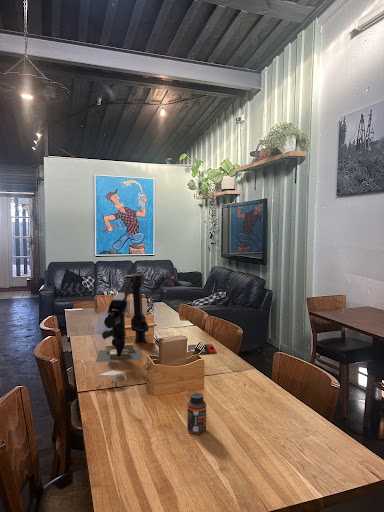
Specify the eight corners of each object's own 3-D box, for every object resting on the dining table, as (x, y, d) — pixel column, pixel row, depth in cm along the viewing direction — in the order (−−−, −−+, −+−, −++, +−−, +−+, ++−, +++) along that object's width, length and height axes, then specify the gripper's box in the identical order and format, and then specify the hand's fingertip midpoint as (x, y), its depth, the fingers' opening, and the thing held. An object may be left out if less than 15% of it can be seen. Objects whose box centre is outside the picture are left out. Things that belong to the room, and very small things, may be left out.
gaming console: (160, 354, 185) (158, 345, 195) (160, 362, 186) (158, 352, 196) (216, 349, 191) (212, 341, 200) (216, 357, 192) (212, 348, 201)
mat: (99, 351, 195) (99, 350, 195) (140, 349, 199) (140, 348, 199) (95, 362, 178) (95, 362, 178) (141, 360, 181) (141, 359, 181)
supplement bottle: (200, 437, 112) (200, 401, 112) (183, 431, 115) (183, 396, 115) (209, 428, 117) (209, 393, 117) (193, 423, 120) (193, 389, 120)
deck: (110, 354, 188) (110, 350, 188) (128, 353, 190) (128, 349, 190) (109, 358, 182) (109, 353, 182) (128, 357, 184) (128, 352, 184)
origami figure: (121, 378, 159) (121, 367, 158) (127, 385, 151) (127, 373, 151) (93, 383, 153) (93, 371, 153) (98, 391, 146) (97, 378, 145)
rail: (106, 351, 194) (106, 344, 194) (133, 350, 197) (133, 343, 196) (106, 353, 191) (106, 346, 191) (133, 352, 194) (133, 344, 193)
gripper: (104, 319, 193) (104, 349, 194) (100, 328, 175) (101, 361, 176) (125, 318, 195) (125, 347, 196) (124, 327, 176) (125, 359, 177)
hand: (119, 353), depth 186 cm, fingers open, 7 cm apart
